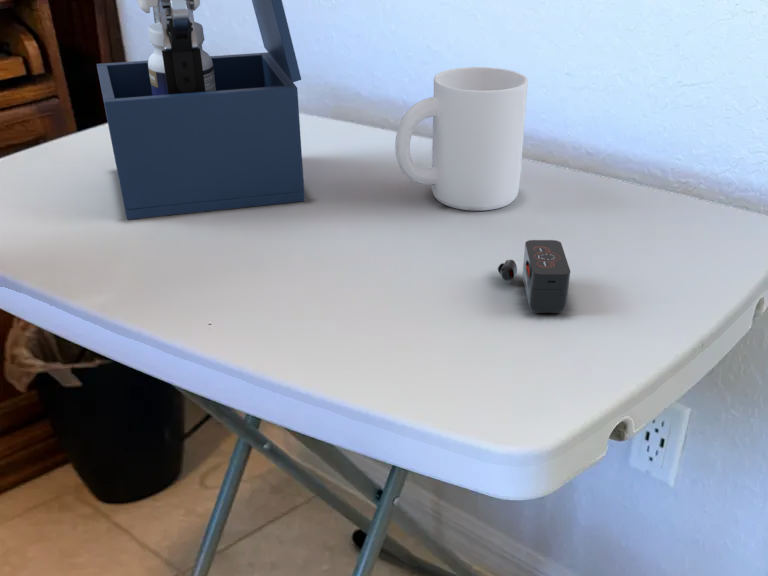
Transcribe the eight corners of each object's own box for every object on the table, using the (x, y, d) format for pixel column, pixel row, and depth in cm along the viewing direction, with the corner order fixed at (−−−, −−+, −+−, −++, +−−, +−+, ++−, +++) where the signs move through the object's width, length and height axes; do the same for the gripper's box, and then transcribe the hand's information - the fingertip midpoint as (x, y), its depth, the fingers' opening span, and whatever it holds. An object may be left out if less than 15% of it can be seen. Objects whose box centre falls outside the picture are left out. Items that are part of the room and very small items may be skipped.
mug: (408, 221, 83) (408, 97, 76) (383, 189, 89) (381, 73, 82) (532, 207, 86) (542, 87, 79) (499, 177, 92) (507, 63, 85)
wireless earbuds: (554, 275, 74) (559, 235, 72) (566, 316, 69) (571, 274, 67) (496, 275, 74) (499, 235, 72) (504, 315, 69) (507, 274, 67)
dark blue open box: (127, 220, 83) (104, 102, 77) (117, 172, 93) (96, 63, 86) (304, 201, 87) (297, 87, 80) (277, 157, 96) (268, 52, 90)
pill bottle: (147, 146, 86) (127, 27, 80) (190, 131, 90) (174, 16, 84) (192, 158, 84) (175, 35, 78) (235, 142, 88) (222, 23, 81)
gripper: (93, -165, 78) (133, 70, 89) (105, -151, 65) (150, 120, 77) (184, -166, 79) (211, 64, 91) (212, -153, 67) (240, 113, 78)
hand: (183, 88), depth 84 cm, fingers closed on pill bottle, 5 cm apart
